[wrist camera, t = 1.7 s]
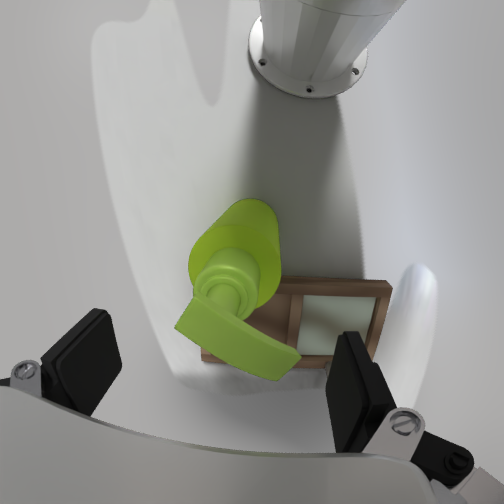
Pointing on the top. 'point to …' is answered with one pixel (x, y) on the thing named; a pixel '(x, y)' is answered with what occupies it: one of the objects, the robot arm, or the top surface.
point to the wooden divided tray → (320, 316)
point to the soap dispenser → (237, 290)
